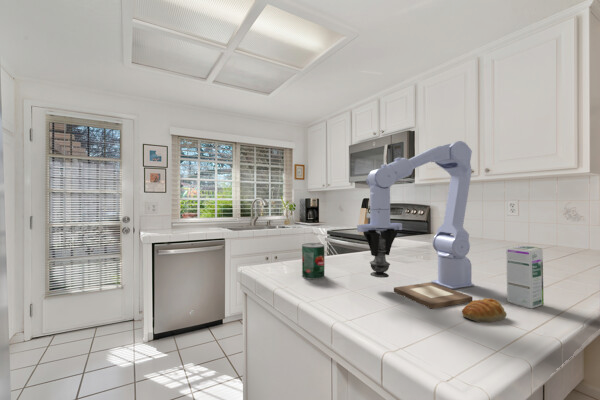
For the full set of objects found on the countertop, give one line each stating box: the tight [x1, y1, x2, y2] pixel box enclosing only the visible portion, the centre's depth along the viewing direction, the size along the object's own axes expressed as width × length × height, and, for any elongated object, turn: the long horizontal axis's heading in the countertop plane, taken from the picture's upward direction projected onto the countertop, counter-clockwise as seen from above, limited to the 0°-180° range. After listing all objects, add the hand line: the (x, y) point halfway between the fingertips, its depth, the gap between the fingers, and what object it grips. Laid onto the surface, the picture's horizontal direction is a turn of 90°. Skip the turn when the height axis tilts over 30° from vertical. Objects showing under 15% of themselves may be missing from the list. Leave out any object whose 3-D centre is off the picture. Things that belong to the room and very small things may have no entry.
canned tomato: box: [301, 242, 326, 280], centre depth 101 cm, size 8×8×11 cm
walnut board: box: [393, 281, 474, 310], centre depth 80 cm, size 14×14×1 cm
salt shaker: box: [369, 234, 391, 279], centre depth 85 cm, size 6×6×12 cm
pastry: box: [461, 297, 508, 323], centre depth 66 cm, size 9×7×4 cm
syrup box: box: [505, 245, 545, 310], centre depth 74 cm, size 6×6×14 cm
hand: (380, 255), depth 85 cm, fingers closed on salt shaker, 4 cm apart
